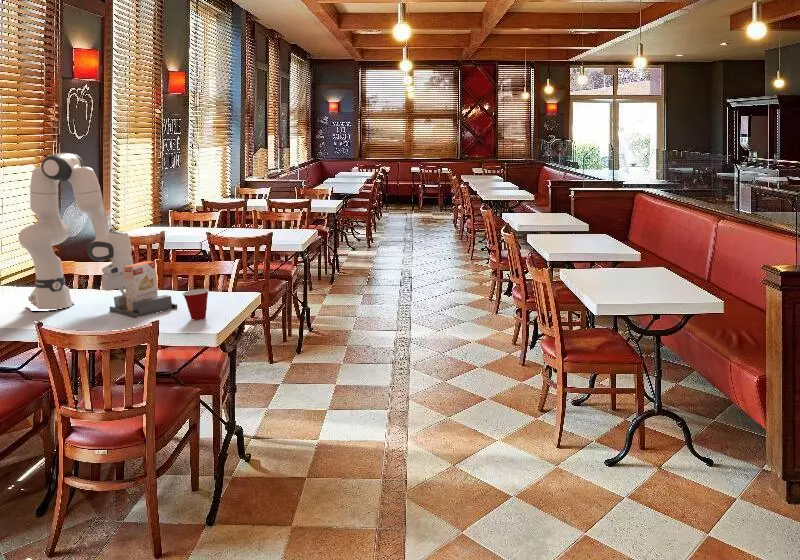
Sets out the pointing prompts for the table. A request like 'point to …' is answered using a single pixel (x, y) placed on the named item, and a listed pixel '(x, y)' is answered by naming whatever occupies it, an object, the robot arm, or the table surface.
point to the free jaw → (120, 302)
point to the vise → (147, 306)
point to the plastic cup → (197, 303)
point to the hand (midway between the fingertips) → (126, 296)
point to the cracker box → (140, 282)
